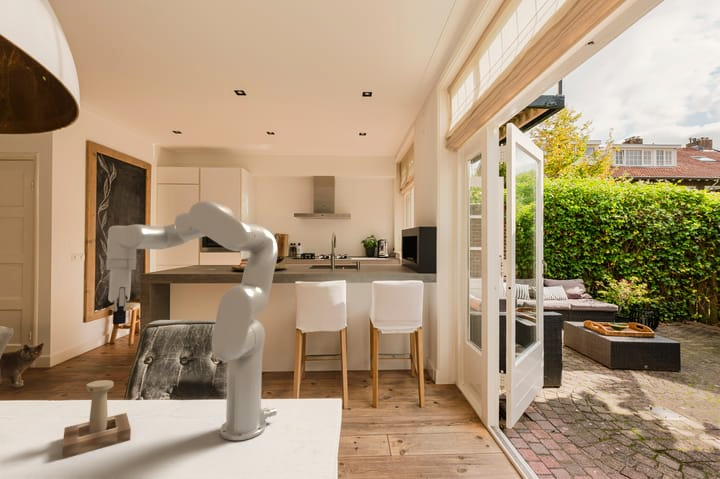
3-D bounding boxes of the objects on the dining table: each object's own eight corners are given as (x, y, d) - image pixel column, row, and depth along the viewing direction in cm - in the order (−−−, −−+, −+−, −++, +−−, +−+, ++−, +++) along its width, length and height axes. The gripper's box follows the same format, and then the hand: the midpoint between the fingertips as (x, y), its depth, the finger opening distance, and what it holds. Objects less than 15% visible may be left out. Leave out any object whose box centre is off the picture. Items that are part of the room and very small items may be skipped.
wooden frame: (126, 423, 101) (126, 412, 101) (130, 439, 92) (130, 427, 92) (64, 438, 92) (64, 426, 93) (61, 459, 83) (62, 445, 83)
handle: (98, 445, 89) (101, 387, 90) (79, 442, 90) (81, 385, 91) (115, 436, 94) (117, 381, 95) (96, 433, 95) (98, 379, 96)
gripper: (105, 264, 109) (102, 321, 109) (108, 265, 98) (105, 329, 97) (132, 264, 114) (130, 319, 113) (139, 265, 103) (136, 326, 102)
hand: (119, 323), depth 105 cm, fingers closed
